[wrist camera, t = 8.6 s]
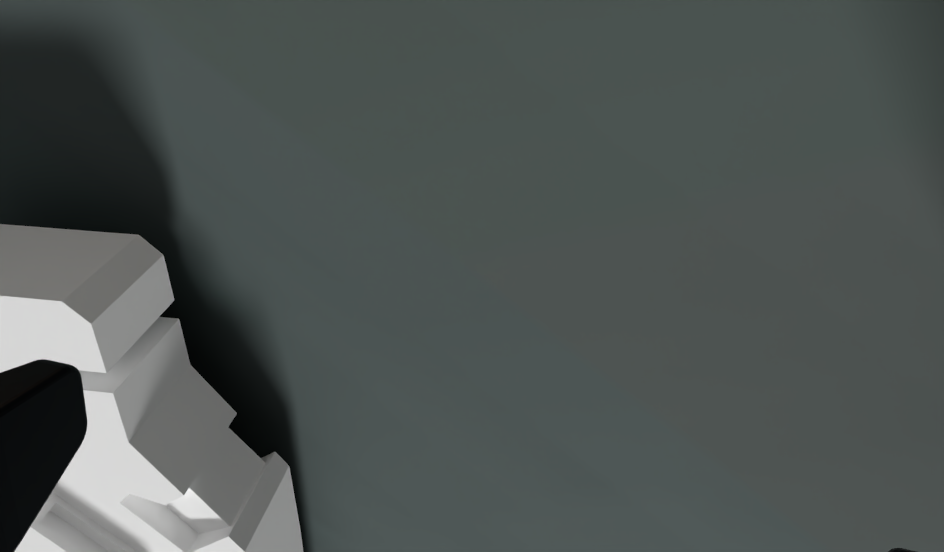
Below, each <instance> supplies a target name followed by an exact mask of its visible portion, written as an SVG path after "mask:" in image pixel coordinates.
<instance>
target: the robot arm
mask: <svg viewBox="0 0 944 552" xmlns="http://www.w3.org/2000/svg"><path fill="white" fill-rule="evenodd" d="M86 431H87V414H86V407H85V399H84V392H83V384H82V378H81V374H80V372H79V370H78V369H77V368H76V367H74V366H73V365H70V364H65V363H60V362H56V361H51V360H45V359H40V360H36V361H32V362H30V363H27V364H24V365H21V366H18V367H15V368H12V369H10V370H7V371H4V372H1V373H0V552H14V551H15V550H16V548H17V547H18V545H19V544H20V542H21V541H22V539H23V538H24V536H25V535H26V533H27V531H28V530H29V528H30V527H31V525H32V523H33V522H34V520H35V518H36V517H37V515H38V514H39V512H40V510H41V509H42V507H43V506H44V504H45V502H46V501H47V499H48V497H49V496H50V494H51V493H52V491H53V489H54V488H55V486H56V485H57V483H58V481H59V480H60V478H61V476H62V475H63V473H64V472H65V470H66V468H67V467H68V465H69V464H70V462H71V460H72V459H73V457H74V456H75V454H76V452H77V451H78V449H79V447H80V446H81V444H82V442H83V440H84V437H85V435H86ZM889 552H916V551H911V550H907V549H902V548H894V549H891V550H890V551H889Z"/></svg>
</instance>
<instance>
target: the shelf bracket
mask: <svg viewBox="0 0 944 552" xmlns="http://www.w3.org/2000/svg"><path fill="white" fill-rule="evenodd" d="M173 301H174V296H173V292H172V288H171V284H170V279H169V275H168V271H167V267H166V263H165V259H164V255H163V254H162V253H161V252H159V251H158V250H157V249H156V248H154V247H153V246H152V245H151V244H150V243H148V242H147V241H146V240H145V239H143V238H142V237H141V236H140V235H136V234H123V233H110V232H97V231H84V230H71V229H58V228H45V227H32V226H19V225H6V224H0V373H1V372H4V371H7V370H10V369H12V368H15V367H18V366H21V365H24V364H27V363H30V362H32V361H36V360H40V359H45V360H51V361H56V362H60V363H65V364H70V365H73V366H74V367H76V368H77V369H78V370H79V372H80V374H81V378H82V384H83V392H84V399H85V407H86V414H87V431H86V435H85V437H84V440H83V442H82V444H81V446H80V447H79V449H78V451H77V452H76V454H75V456H74V457H73V459H72V460H71V462H70V464H69V465H68V467H67V468H66V470H65V472H64V473H63V475H62V476H61V478H60V480H59V481H58V483H57V485H56V486H55V488H54V489H53V491H52V493H51V494H50V496H49V497H48V499H47V501H46V502H45V504H44V506H43V507H42V509H41V510H40V512H39V514H38V515H37V517H36V518H35V520H34V522H33V523H32V525H31V527H30V528H29V530H28V531H27V533H26V535H25V536H24V538H23V539H22V541H21V542H20V544H19V545H18V547H17V548H16V550H15V551H14V552H303V545H302V537H301V530H300V524H299V518H298V513H297V507H296V501H295V496H294V490H293V484H292V479H291V473H290V467H289V465H288V464H287V463H286V462H285V461H284V460H283V459H282V458H281V457H280V456H279V455H278V454H277V453H276V452H273V453H271V454H269V455H267V456H265V457H262V458H260V457H259V456H258V455H257V454H256V453H255V452H254V451H253V450H252V449H251V448H249V447H248V446H247V445H246V444H245V443H244V442H243V441H242V440H241V439H240V438H239V437H238V436H237V435H236V434H235V433H234V432H233V431H232V430H231V429H230V428H229V425H230V424H231V422H232V421H233V419H234V418H235V416H236V414H237V413H236V412H235V411H234V410H233V408H232V407H231V406H230V405H229V404H228V403H227V402H226V401H225V400H224V399H223V398H222V397H221V396H220V395H219V394H218V393H217V392H216V391H215V390H214V389H213V388H212V387H211V386H210V385H209V383H208V382H207V381H206V380H205V379H204V378H203V377H202V376H201V375H200V374H199V373H198V372H197V371H196V370H195V369H194V368H193V367H192V366H191V365H190V361H189V357H188V353H187V349H186V345H185V341H184V337H183V332H182V328H181V324H180V320H179V319H178V318H167V317H159V316H160V315H161V314H162V313H163V312H164V311H165V310H166V309H167V308H168V307H169V306H170V305H171V304H172V302H173Z"/></svg>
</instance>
